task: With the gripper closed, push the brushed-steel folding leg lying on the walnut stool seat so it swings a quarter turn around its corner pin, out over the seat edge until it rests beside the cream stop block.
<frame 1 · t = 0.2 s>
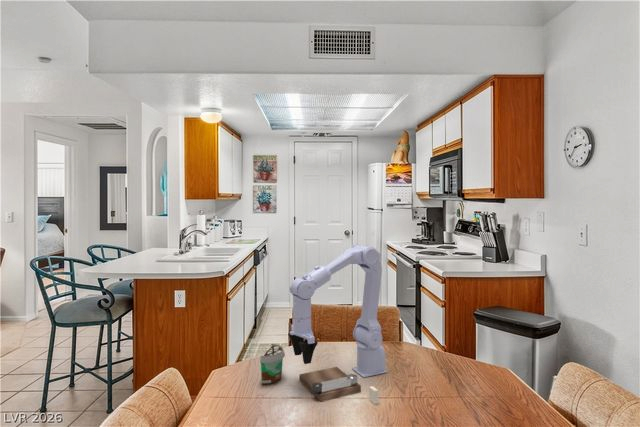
hand: (302, 358, 131), 9 cm above the table, tool pointing down, fingers open, 7 cm apart
stool seat: (329, 385, 133), on the table
food container: (275, 380, 137), on the table
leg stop: (373, 401, 122), on the table
folding leg: (335, 383, 127), point 3 cm above the table, hinge at 0.0°
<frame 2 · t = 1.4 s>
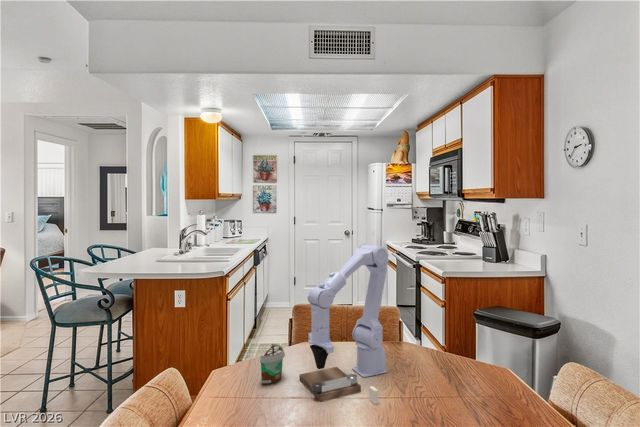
hand: (320, 368, 131), 6 cm above the table, tool pointing down, fingers closed
nothing on the table moved.
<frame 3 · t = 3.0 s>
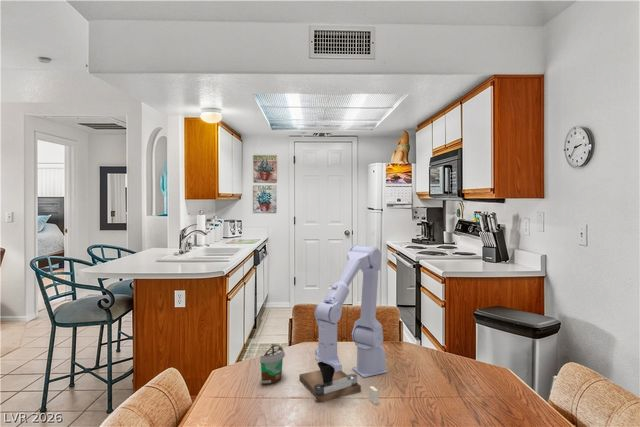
hand: (327, 385, 127), 3 cm above the table, tool pointing down, fingers closed, pressing on folding leg
folding leg: (336, 384, 126), point 3 cm above the table, hinge at 6.0°, touching gripper
everything else where it was.
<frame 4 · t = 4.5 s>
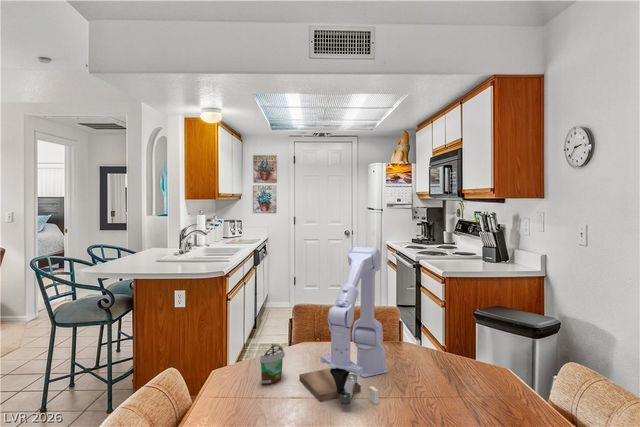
hand: (340, 392, 122), 3 cm above the table, tool pointing down, fingers closed, pressing on folding leg
folding leg: (348, 388, 124), point 3 cm above the table, hinge at 51.0°, touching gripper
everything else where it was.
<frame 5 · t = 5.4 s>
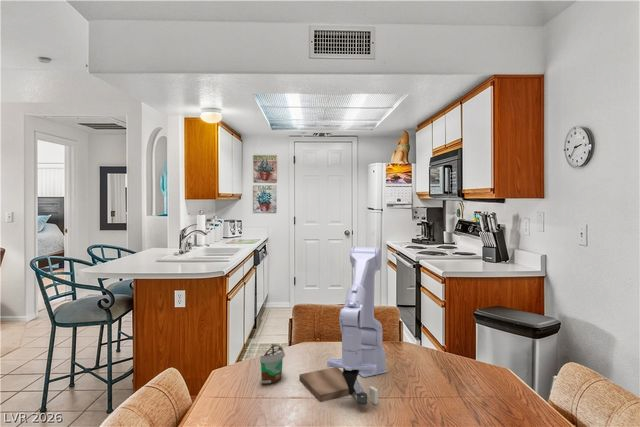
hand: (351, 393, 121), 3 cm above the table, tool pointing down, fingers closed, pressing on folding leg
folding leg: (356, 388, 123), point 3 cm above the table, hinge at 74.2°, touching gripper
everything else where it was.
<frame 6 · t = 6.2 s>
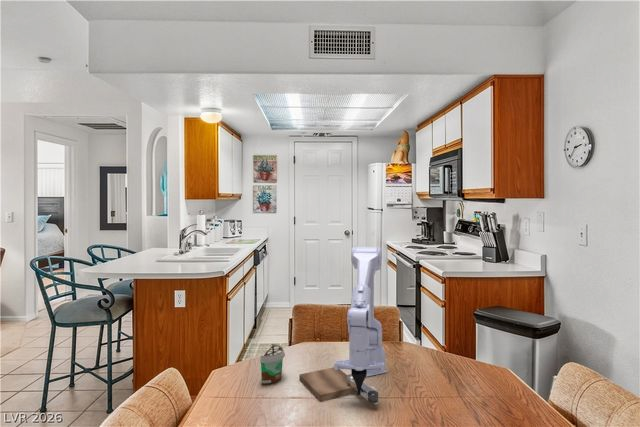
hand: (359, 393, 121), 3 cm above the table, tool pointing down, fingers closed, pressing on folding leg
folding leg: (362, 387, 124), point 3 cm above the table, hinge at 90.2°, touching gripper
everything else where it was.
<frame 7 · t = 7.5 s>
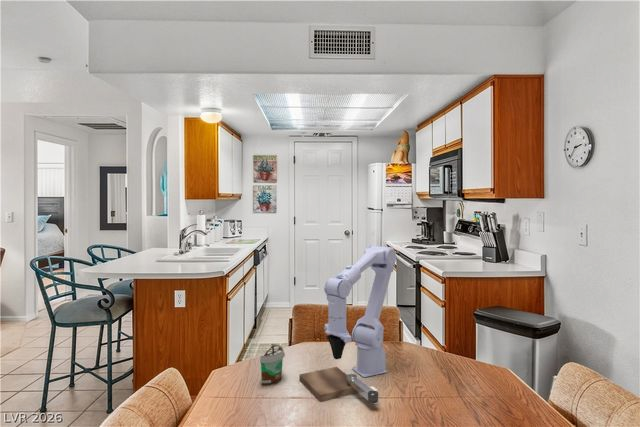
hand: (337, 358, 131), 9 cm above the table, tool pointing down, fingers closed
folding leg: (362, 387, 124), point 3 cm above the table, hinge at 90.2°
everything else where it was.
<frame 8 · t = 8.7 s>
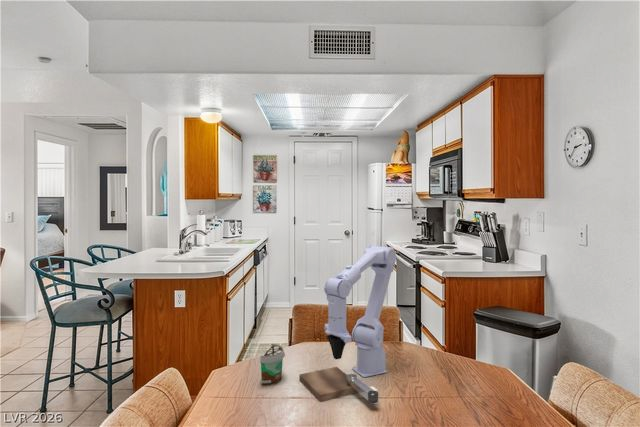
hand: (337, 358, 131), 9 cm above the table, tool pointing down, fingers closed
nothing on the table moved.
at the end: folding leg at +90° (first picture: +0°); food container moved 0.2 cm from its start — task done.
